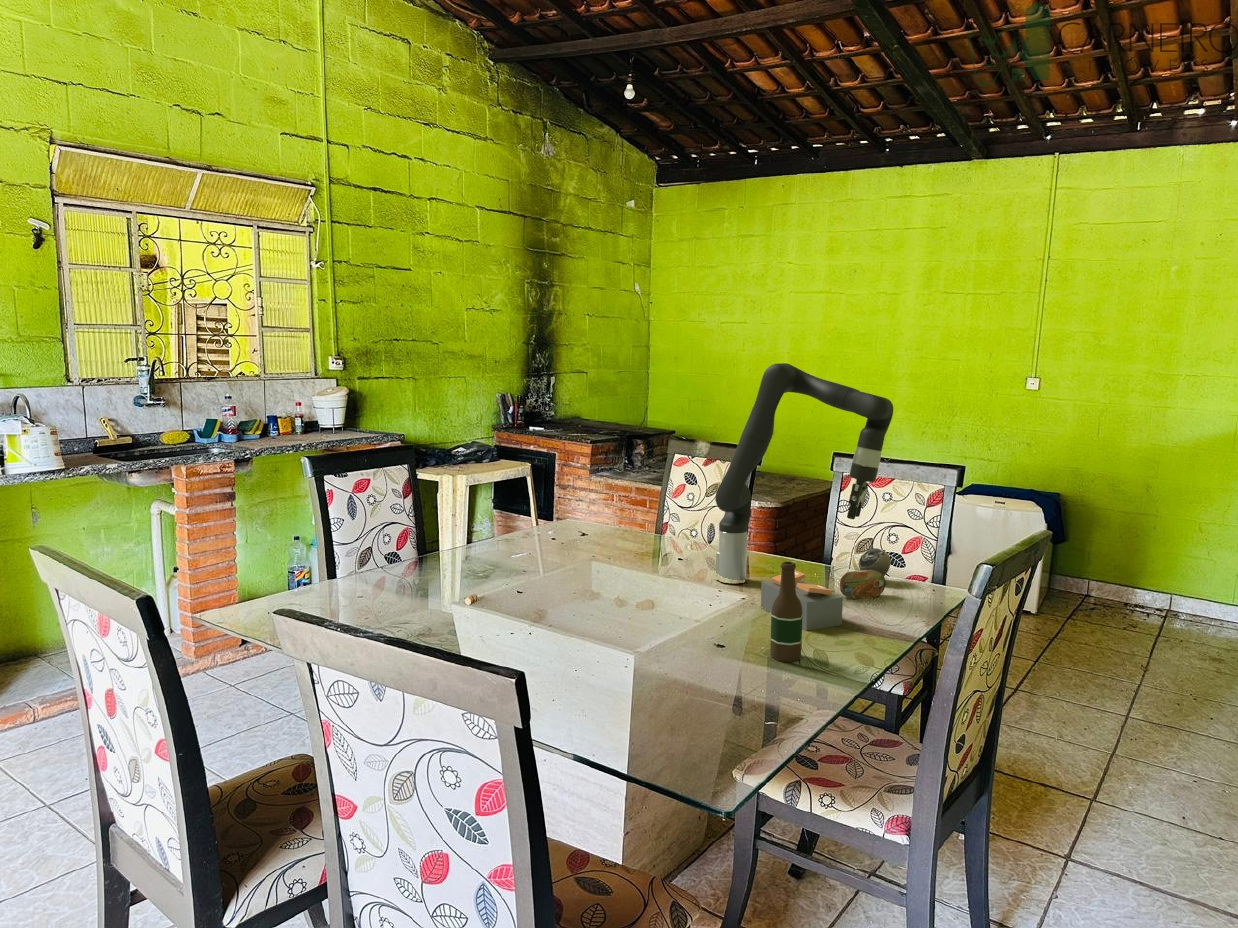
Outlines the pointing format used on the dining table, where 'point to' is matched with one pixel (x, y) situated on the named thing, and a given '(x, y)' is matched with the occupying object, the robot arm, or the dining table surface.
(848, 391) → the robot arm
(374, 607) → the dining table surface
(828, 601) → the switch box
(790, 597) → the beer bottle
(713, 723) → the dining table surface
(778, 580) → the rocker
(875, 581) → the tin
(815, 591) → the orange flat board
